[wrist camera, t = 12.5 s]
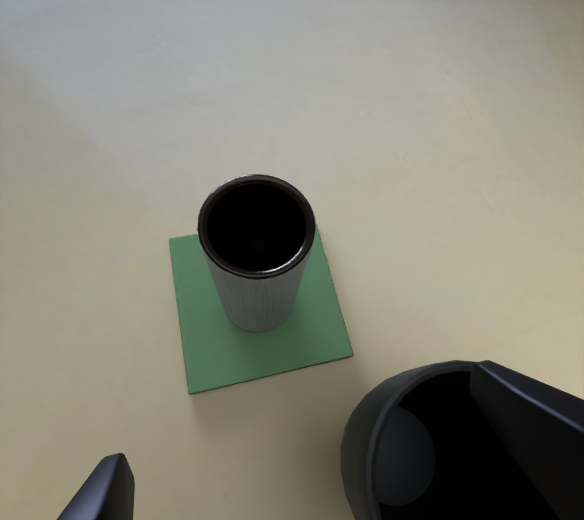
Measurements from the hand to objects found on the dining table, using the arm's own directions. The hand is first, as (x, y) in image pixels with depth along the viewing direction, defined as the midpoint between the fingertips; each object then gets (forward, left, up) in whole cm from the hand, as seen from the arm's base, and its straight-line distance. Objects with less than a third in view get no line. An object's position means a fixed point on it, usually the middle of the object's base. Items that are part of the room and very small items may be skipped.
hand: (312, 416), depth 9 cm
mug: (-2, -8, -13) cm, 16 cm away
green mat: (+7, +2, -13) cm, 15 cm away
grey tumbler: (+7, +2, -13) cm, 15 cm away
